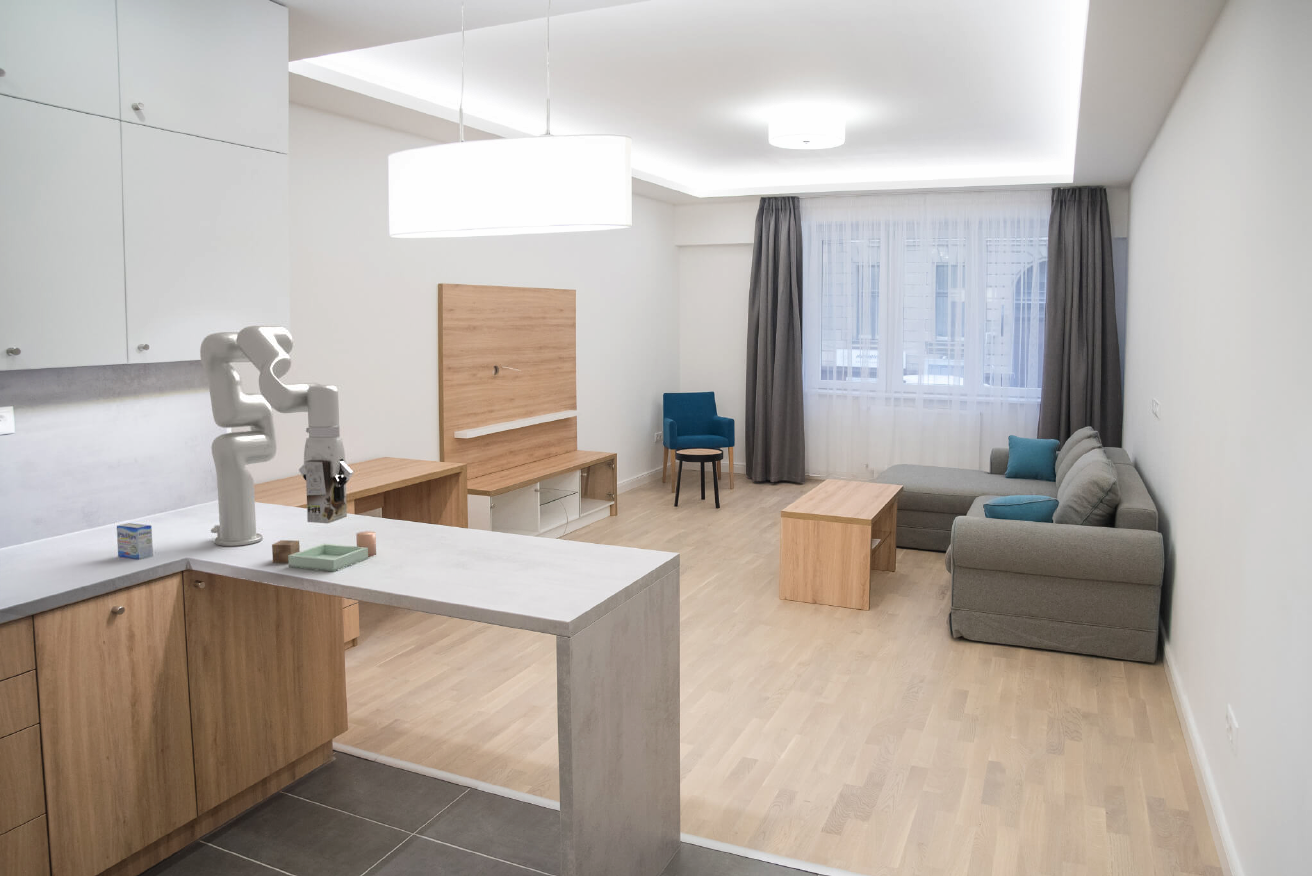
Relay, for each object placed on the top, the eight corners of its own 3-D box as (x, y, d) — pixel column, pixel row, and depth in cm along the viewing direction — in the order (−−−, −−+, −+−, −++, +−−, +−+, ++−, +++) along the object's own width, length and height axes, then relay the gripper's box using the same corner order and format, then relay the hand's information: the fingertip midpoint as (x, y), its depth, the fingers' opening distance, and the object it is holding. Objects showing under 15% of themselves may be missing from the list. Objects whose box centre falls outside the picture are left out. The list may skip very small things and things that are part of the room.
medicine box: (117, 557, 242) (115, 525, 241) (132, 553, 247) (130, 522, 246) (139, 559, 240) (137, 527, 239) (153, 556, 244) (151, 524, 243)
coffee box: (329, 523, 231) (326, 461, 230) (306, 522, 233) (304, 460, 231) (348, 516, 240) (346, 456, 238) (326, 515, 242) (324, 455, 240)
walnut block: (272, 563, 237) (272, 544, 237) (281, 558, 242) (281, 540, 242) (291, 563, 237) (290, 545, 237) (299, 558, 242) (299, 540, 242)
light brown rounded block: (353, 556, 245) (352, 534, 244) (364, 552, 250) (363, 530, 249) (368, 557, 243) (368, 536, 243) (380, 553, 248) (379, 532, 247)
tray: (288, 566, 233) (288, 555, 233) (324, 554, 247) (324, 543, 246) (334, 571, 229) (333, 560, 229) (368, 558, 242) (367, 547, 242)
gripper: (286, 433, 233) (289, 501, 235) (343, 435, 228) (345, 505, 230) (306, 430, 240) (309, 496, 242) (361, 432, 235) (364, 500, 237)
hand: (327, 500), depth 236 cm, fingers closed on coffee box, 6 cm apart
